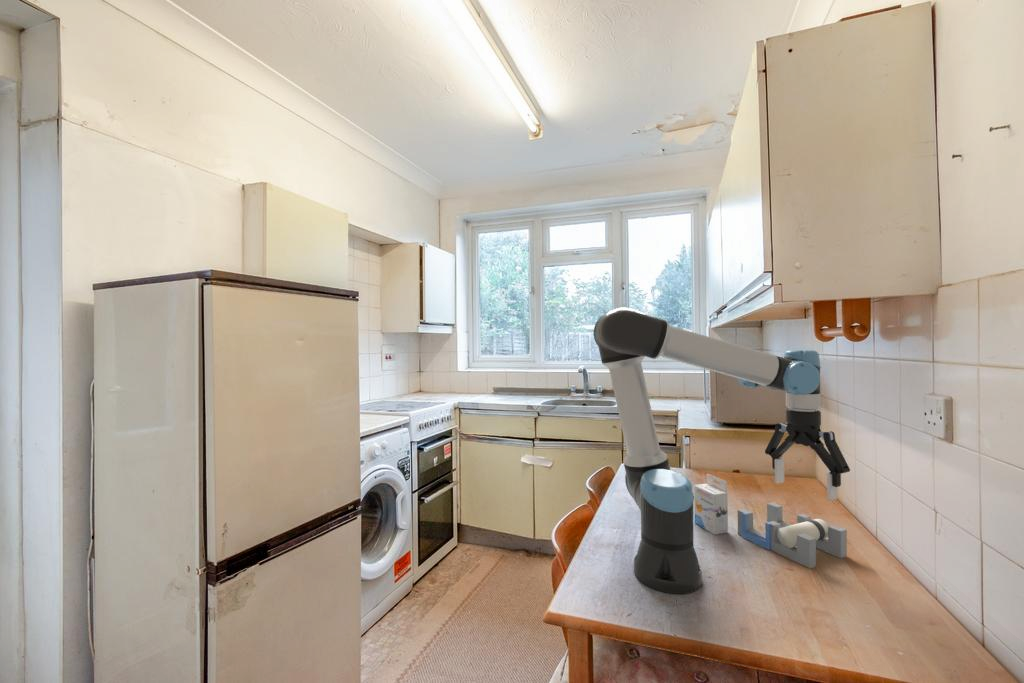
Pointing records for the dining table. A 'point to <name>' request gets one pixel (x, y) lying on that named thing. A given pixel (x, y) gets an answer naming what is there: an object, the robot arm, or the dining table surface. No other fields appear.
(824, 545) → the bracket
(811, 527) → the banded white cylinder
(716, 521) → the ink box
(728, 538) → the dining table surface
